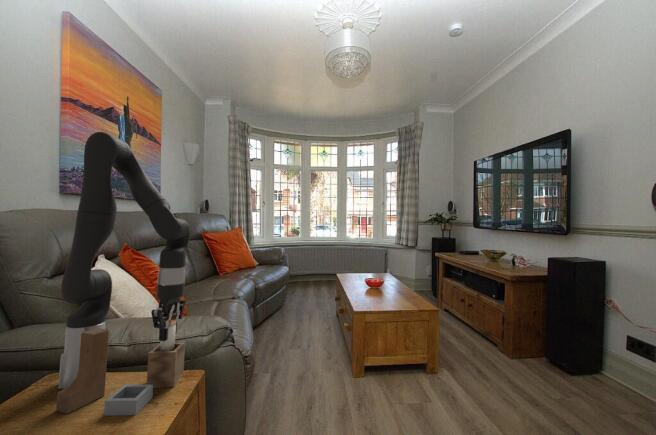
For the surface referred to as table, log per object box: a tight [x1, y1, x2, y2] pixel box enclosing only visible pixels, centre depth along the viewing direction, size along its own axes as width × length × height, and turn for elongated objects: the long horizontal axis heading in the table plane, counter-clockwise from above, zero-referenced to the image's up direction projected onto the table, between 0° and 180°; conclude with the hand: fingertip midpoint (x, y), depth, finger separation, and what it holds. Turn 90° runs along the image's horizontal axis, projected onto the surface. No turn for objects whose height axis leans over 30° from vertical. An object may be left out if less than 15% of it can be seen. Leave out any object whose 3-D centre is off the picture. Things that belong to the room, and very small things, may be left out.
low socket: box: [103, 383, 154, 416], centre depth 75 cm, size 8×8×4 cm
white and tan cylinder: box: [159, 318, 176, 351], centre depth 88 cm, size 4×4×9 cm
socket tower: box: [146, 342, 186, 389], centre depth 88 cm, size 8×8×10 cm
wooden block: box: [55, 328, 110, 415], centre depth 76 cm, size 9×4×18 cm, turn 162°
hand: (167, 337), depth 88 cm, fingers closed on white and tan cylinder, 4 cm apart
